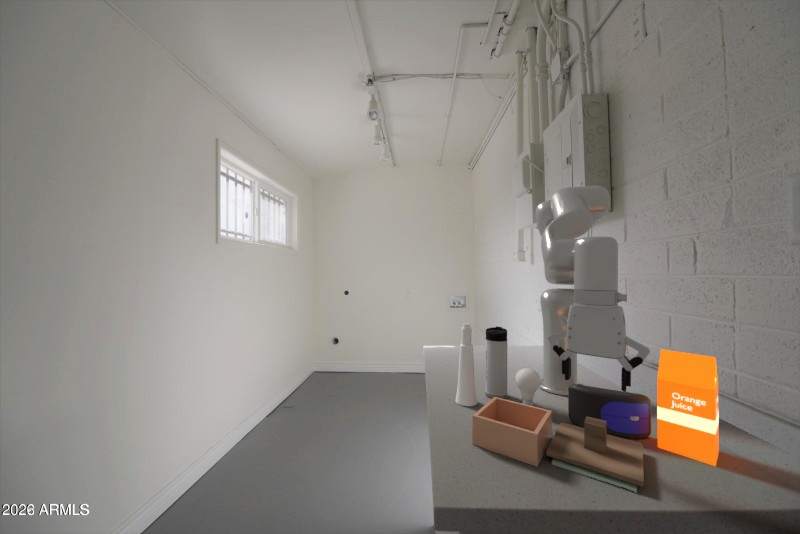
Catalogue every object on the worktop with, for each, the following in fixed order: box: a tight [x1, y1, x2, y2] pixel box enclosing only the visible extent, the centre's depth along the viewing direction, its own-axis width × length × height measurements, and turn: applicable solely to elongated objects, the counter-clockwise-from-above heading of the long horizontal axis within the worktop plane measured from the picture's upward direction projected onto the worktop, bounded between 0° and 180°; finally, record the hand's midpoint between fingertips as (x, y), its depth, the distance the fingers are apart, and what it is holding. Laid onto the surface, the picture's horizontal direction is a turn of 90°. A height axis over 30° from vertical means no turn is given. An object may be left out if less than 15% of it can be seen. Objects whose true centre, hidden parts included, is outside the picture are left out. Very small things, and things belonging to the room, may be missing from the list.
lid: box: [545, 416, 645, 488], centre depth 63 cm, size 15×15×6 cm
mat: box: [551, 457, 638, 493], centre depth 63 cm, size 16×13×1 cm
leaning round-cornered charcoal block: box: [567, 383, 652, 440], centre depth 73 cm, size 16×5×9 cm, turn 61°
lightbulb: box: [514, 366, 542, 406], centre depth 85 cm, size 6×6×11 cm
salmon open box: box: [471, 397, 553, 467], centre depth 69 cm, size 13×13×6 cm
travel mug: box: [484, 326, 508, 399], centre depth 94 cm, size 6×7×20 cm
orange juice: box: [656, 348, 720, 467], centre depth 66 cm, size 8×9×20 cm
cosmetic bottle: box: [455, 322, 478, 407], centre depth 89 cm, size 6×6×22 cm
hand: (594, 383), depth 64 cm, fingers open, 9 cm apart
